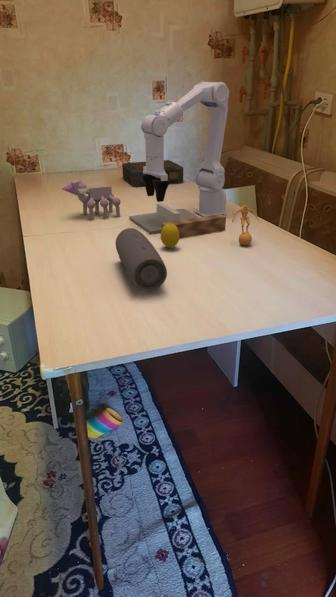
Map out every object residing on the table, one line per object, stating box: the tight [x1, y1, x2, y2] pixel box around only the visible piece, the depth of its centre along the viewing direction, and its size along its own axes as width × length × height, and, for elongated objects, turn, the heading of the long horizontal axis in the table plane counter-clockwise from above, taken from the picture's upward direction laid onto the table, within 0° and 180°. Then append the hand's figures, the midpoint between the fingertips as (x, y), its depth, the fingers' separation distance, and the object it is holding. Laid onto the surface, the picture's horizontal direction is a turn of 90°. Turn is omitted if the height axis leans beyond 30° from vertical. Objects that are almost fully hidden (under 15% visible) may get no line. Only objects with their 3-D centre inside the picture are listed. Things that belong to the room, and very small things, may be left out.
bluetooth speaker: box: [115, 227, 168, 292], centre depth 112 cm, size 23×9×10 cm, turn 17°
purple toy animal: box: [61, 179, 121, 221], centre depth 157 cm, size 20×11×14 cm, turn 112°
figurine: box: [231, 204, 259, 247], centre depth 132 cm, size 8×6×12 cm
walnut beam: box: [162, 214, 227, 240], centre depth 142 cm, size 22×4×5 cm, turn 117°
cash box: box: [121, 159, 184, 188], centre depth 208 cm, size 25×20×8 cm
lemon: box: [160, 223, 180, 249], centre depth 130 cm, size 6×6×8 cm
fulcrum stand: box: [128, 202, 199, 235], centre depth 153 cm, size 22×18×5 cm
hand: (155, 198), depth 145 cm, fingers open, 7 cm apart
